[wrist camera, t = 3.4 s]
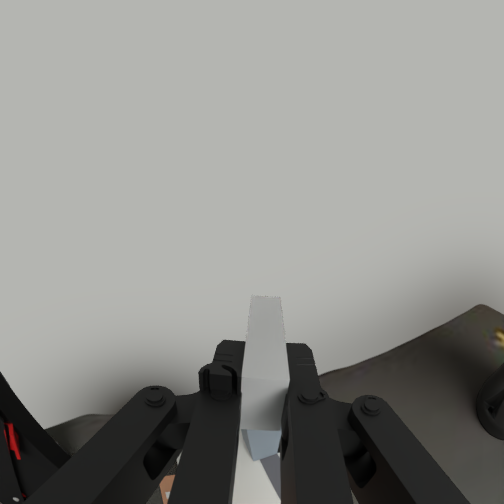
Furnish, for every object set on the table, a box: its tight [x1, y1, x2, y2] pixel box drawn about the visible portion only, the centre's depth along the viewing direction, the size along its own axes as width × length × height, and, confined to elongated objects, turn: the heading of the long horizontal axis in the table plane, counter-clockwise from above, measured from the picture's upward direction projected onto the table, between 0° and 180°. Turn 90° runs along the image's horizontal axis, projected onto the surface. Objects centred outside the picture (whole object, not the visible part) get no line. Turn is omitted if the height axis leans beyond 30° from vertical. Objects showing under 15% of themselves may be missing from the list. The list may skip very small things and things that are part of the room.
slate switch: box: [241, 428, 281, 461], centre depth 26 cm, size 4×4×12 cm
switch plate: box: [177, 429, 281, 504], centre depth 24 cm, size 20×14×3 cm
